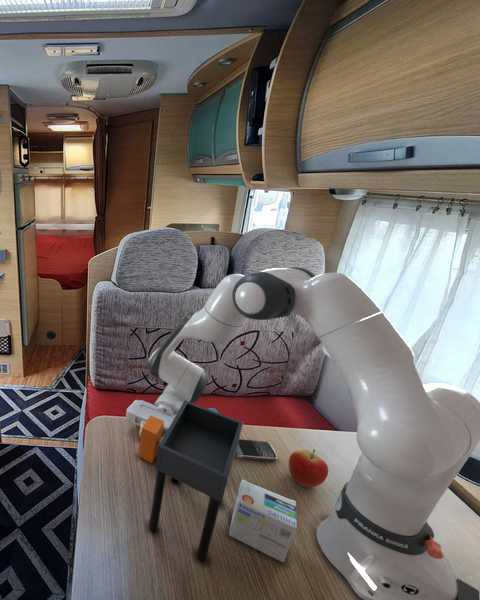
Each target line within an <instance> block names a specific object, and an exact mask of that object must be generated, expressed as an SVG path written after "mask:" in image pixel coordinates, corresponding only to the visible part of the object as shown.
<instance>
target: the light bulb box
mask: <svg viewBox="0 0 480 600" xmlns="http://www.w3.org/2000/svg"><path fill="white" fill-rule="evenodd" d="M235 499H236V500H235V504H234V507H233V511H232V516H231V522H230V528H229V531H228V532H229V533H228V536H229V537H231V538H234V539H235V540H237V541H240V542H241V543H244V544H245V545H247V546H250V547H251V548H253V549H255V550H258V551H259V552H261V553H263V554H265V555H267V556H269V557H271V558H273V559H275V560H277V561H279V562H281V563H282V564H283V563H285V562H286V561H285V560H286V559H287V555H288V552H289V549H290V547H291V545H292V542H293V539H294V536H295V534H296V531H297V527H298V526H297V524H298V523H297V501H296V500H295V499H293V498H289V497H286V496H285V495H281V494H279V493H276V492H275V491H274V492H273V491H271V490H269V489H266V488H264V487H261V486H259V485H257V484H254V483H253V482H250V481H248V480H245V479H242V478H241V480H240V484H239V488H238V490H237V496H236V498H235Z"/></svg>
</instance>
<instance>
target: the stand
mask: <svg viewBox="0 0 480 600" xmlns="http://www.w3.org/2000/svg"><path fill="white" fill-rule="evenodd" d="M166 476H167V475H166V474H164V473H162V472H160V471H158V470H156V477H155V483H154V489H153V490H154V491H153V496H152V505H151V511H150V518H149V525H148V530H150V531H151V532H152V533H156V532H157V531H158V530H159V529H158V528H159V521H160V516H161V509H162V503H163V496H164V491H165V483H166V478H167V477H166ZM170 478H171V479H170V481H171V483H172V484H174V485H177V484H179V482H180V481H178V480H176V479H174V478H172V477H170ZM226 488H227V487H226ZM226 488H225V490H226ZM224 496H225V494H224V495H223V497H224ZM223 501H224V498H223V499H222V502H219V501H217V500H215V499H213V498H211V497H209V501H208V504H207V509H206V513H205V517H204V523H203V526H202V531H201V535H200V539H199V544H198V549H197V553H196V558H197V560H198V561H199V562H200V563H205V562H206V561H207V558H208V554H209V549H210V545H211V542H212V538H213V533H214V530H215V525H216V521H217V517H218V515H219V514H218V513H219V509H220V507H221V506H222V504H223Z"/></svg>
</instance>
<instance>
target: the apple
mask: <svg viewBox="0 0 480 600" xmlns="http://www.w3.org/2000/svg"><path fill="white" fill-rule="evenodd" d="M312 450H313V451H309V450H307V449H306V450H305V449H296V450H294V451H292V453H290V456H289V459H288V471H289V474H290V476H291V477H292V479H293V480H294V482H296V483H297V484H299V485H301V486H303V487H306V488H315V487H318V486H320V485H321V484H324V482H325V481H326V480H327V478H328V475H329V466H328V464H327V462H326V461H325V460H324V459H323V458H321V457H320V456H318V455H317V454H315V452H316V450H315V448H313V449H312Z"/></svg>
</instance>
